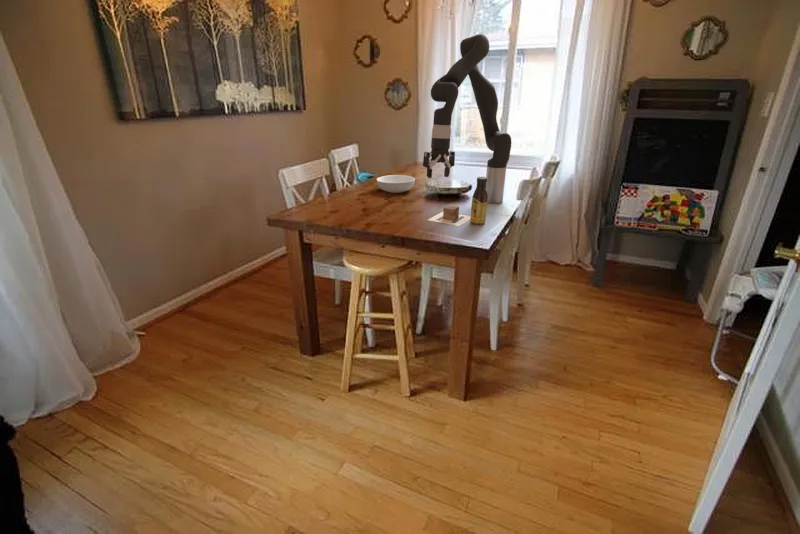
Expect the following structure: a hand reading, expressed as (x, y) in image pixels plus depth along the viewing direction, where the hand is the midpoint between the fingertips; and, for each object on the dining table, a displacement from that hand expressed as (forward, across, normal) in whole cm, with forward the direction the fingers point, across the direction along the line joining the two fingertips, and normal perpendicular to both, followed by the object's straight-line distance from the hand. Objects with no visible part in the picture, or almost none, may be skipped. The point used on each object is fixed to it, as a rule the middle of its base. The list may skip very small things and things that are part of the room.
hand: (437, 177), depth 167 cm
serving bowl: (+17, -10, -53) cm, 57 cm away
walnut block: (+17, -6, +4) cm, 19 cm away
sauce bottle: (+18, -12, +15) cm, 26 cm away
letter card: (+18, -6, +4) cm, 19 cm away
